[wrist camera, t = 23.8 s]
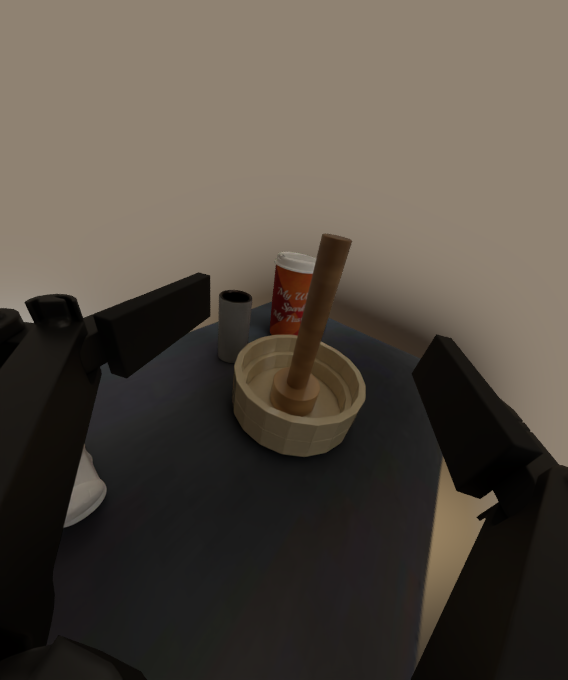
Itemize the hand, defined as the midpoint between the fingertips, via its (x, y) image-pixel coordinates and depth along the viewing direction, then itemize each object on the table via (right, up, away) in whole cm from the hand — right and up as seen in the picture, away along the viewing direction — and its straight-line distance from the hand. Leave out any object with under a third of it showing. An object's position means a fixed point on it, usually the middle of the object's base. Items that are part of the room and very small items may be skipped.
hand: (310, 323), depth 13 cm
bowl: (-1, -9, +17) cm, 19 cm away
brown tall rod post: (0, -9, +17) cm, 19 cm away
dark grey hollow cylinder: (-10, -3, +24) cm, 26 cm away
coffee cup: (-2, 0, +33) cm, 33 cm away
